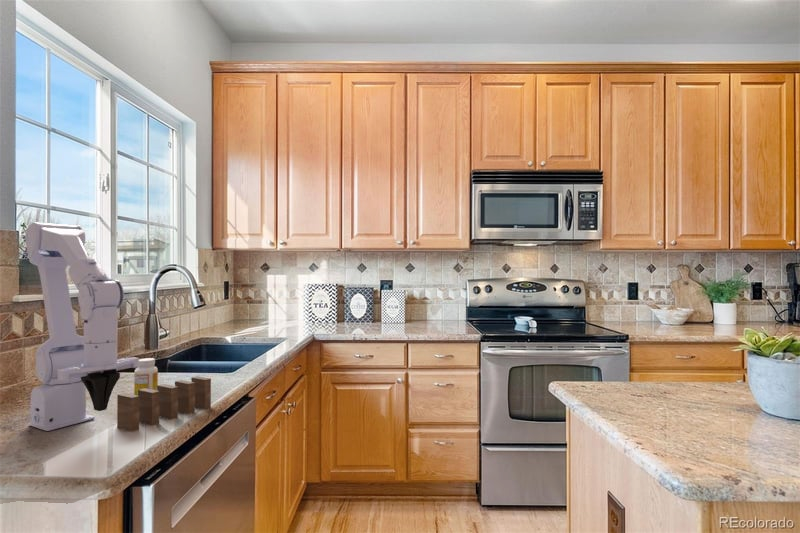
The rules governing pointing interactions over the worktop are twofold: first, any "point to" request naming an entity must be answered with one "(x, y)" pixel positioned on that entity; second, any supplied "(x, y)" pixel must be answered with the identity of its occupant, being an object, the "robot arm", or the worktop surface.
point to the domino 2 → (148, 406)
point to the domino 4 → (186, 396)
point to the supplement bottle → (145, 375)
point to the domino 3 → (168, 401)
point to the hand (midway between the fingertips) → (100, 409)
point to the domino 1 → (128, 412)
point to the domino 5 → (202, 392)
